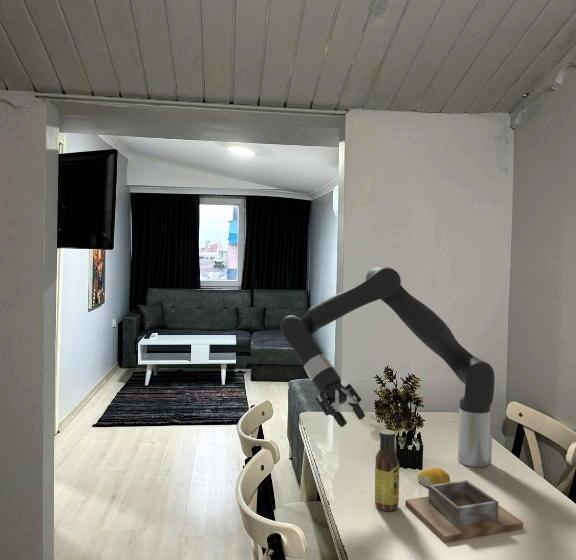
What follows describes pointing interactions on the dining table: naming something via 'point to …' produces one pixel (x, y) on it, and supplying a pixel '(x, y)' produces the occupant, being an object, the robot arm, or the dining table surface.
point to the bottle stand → (461, 512)
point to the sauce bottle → (387, 473)
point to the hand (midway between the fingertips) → (353, 421)
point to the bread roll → (433, 477)
